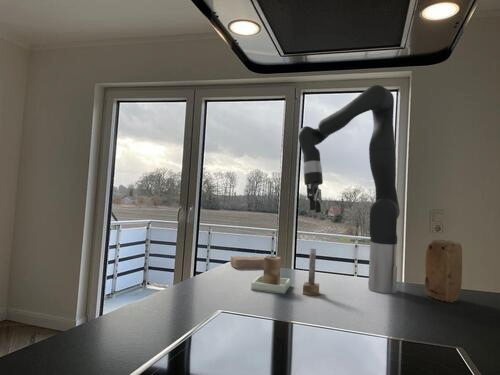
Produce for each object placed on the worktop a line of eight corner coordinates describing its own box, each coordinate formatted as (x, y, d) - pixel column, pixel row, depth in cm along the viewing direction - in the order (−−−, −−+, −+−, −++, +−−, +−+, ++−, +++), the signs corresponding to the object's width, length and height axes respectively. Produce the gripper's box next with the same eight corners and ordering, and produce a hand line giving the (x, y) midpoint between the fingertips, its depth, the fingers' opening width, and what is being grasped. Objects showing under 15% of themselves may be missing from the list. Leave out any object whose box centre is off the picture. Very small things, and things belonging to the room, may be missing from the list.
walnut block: (279, 285, 128) (280, 256, 128) (277, 288, 123) (278, 259, 123) (265, 283, 129) (267, 255, 129) (262, 286, 124) (264, 257, 124)
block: (463, 303, 119) (465, 242, 119) (446, 304, 116) (449, 242, 117) (436, 293, 129) (438, 238, 129) (420, 295, 126) (422, 238, 127)
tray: (290, 285, 130) (290, 278, 130) (284, 293, 119) (285, 286, 119) (259, 282, 133) (259, 275, 133) (251, 289, 122) (251, 282, 122)
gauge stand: (318, 292, 123) (321, 248, 123) (317, 296, 118) (320, 250, 119) (304, 290, 124) (306, 247, 125) (302, 294, 120) (304, 249, 120)
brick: (263, 265, 167) (264, 255, 167) (270, 268, 159) (271, 258, 159) (229, 266, 162) (230, 255, 162) (235, 270, 154) (235, 259, 154)
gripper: (317, 168, 142) (320, 208, 139) (325, 175, 155) (328, 212, 151) (299, 170, 145) (301, 210, 142) (308, 177, 158) (311, 214, 154)
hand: (315, 211), depth 147 cm, fingers open, 8 cm apart
